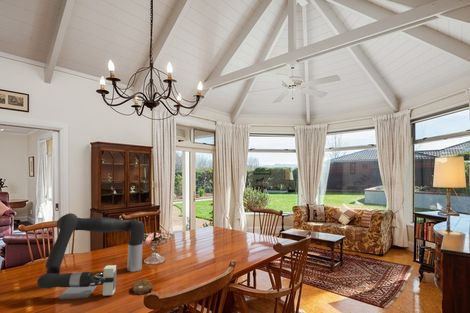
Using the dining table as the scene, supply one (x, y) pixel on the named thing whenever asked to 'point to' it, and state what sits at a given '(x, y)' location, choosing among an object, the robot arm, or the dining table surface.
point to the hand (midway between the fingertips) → (114, 277)
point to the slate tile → (77, 292)
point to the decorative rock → (142, 286)
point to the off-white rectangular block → (110, 286)
